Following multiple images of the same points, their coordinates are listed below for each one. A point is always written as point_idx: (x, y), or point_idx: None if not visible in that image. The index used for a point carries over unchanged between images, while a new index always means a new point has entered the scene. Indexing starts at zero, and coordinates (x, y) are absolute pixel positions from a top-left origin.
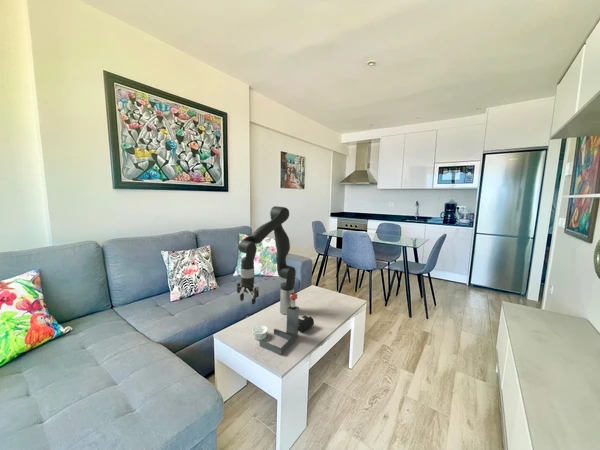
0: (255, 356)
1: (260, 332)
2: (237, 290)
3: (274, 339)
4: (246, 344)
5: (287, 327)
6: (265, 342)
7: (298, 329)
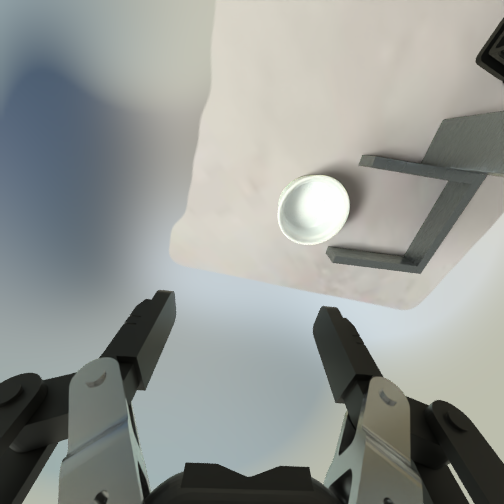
0: (331, 291)
1: (299, 186)
2: (8, 476)
3: (369, 199)
4: (280, 262)
5: (475, 171)
6: (356, 262)
7: (498, 61)
